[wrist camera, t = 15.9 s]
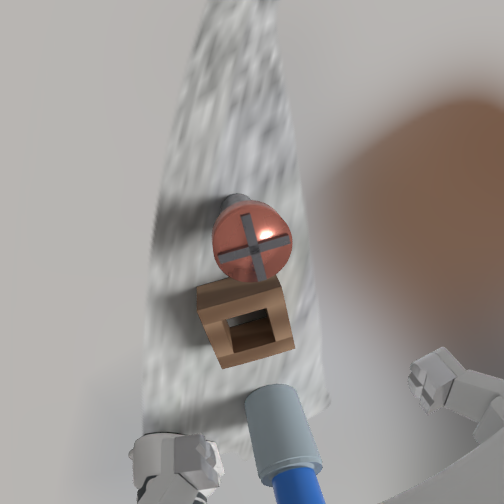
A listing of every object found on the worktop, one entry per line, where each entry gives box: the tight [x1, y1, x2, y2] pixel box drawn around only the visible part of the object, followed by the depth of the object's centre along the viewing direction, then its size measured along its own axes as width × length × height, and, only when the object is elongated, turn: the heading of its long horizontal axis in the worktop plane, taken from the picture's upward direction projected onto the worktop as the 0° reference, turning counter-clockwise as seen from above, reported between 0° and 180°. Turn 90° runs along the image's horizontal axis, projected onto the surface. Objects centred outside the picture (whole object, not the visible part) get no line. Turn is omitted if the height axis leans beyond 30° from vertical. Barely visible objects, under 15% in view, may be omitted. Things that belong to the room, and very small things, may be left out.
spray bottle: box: [245, 384, 326, 504], centre depth 34 cm, size 9×9×25 cm
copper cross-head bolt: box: [212, 194, 292, 283], centre depth 27 cm, size 6×6×11 cm
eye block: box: [197, 274, 295, 369], centre depth 35 cm, size 9×9×5 cm
